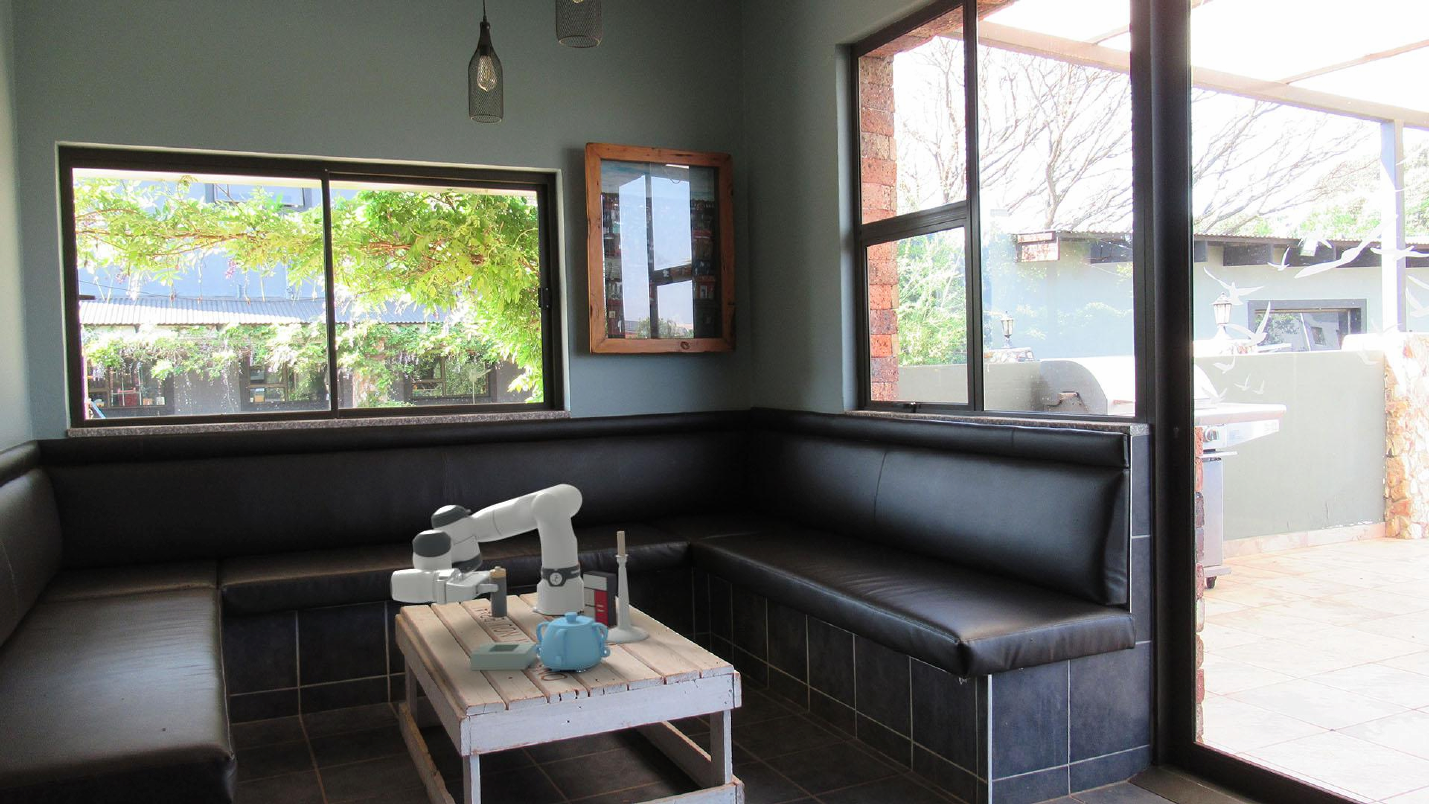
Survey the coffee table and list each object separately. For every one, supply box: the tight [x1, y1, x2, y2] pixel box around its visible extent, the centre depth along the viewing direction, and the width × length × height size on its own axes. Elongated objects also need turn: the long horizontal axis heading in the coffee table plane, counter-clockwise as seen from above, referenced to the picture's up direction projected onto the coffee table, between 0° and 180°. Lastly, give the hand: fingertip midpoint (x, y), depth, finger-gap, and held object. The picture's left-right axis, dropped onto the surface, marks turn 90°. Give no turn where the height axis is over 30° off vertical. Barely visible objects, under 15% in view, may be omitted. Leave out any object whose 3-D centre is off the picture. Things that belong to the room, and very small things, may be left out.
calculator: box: [582, 570, 618, 628], centre depth 293 cm, size 11×4×15 cm, turn 47°
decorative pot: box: [535, 612, 611, 673], centre depth 251 cm, size 16×16×14 cm
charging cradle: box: [469, 641, 538, 671], centre depth 256 cm, size 11×14×4 cm
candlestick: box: [602, 529, 649, 644], centre depth 277 cm, size 13×13×30 cm
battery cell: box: [489, 566, 508, 619], centre depth 260 cm, size 4×4×13 cm
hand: (501, 585), depth 259 cm, fingers closed on battery cell, 4 cm apart
